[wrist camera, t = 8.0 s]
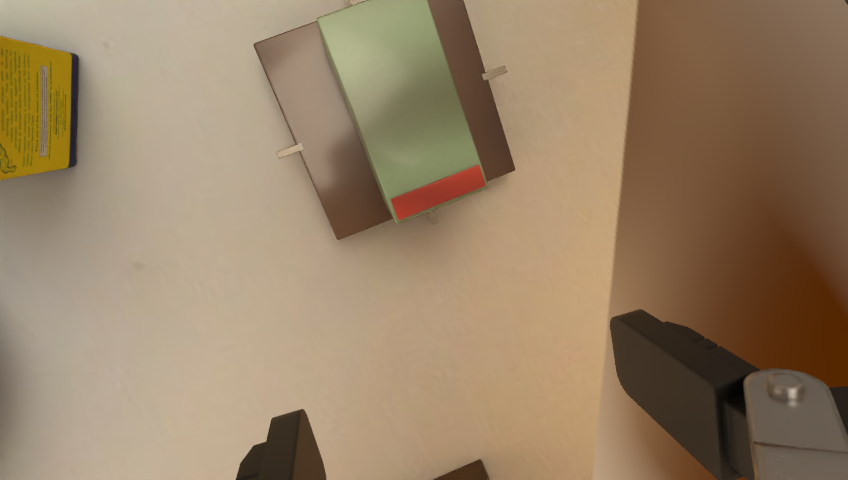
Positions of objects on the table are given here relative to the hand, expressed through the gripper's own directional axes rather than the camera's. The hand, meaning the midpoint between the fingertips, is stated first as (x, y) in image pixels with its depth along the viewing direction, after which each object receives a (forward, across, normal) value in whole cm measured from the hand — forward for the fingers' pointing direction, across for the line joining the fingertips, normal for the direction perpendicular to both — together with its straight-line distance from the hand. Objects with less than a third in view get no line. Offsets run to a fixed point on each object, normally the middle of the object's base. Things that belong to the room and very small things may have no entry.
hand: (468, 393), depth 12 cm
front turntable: (+19, -2, -7) cm, 20 cm away
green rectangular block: (+17, -2, -7) cm, 18 cm away
